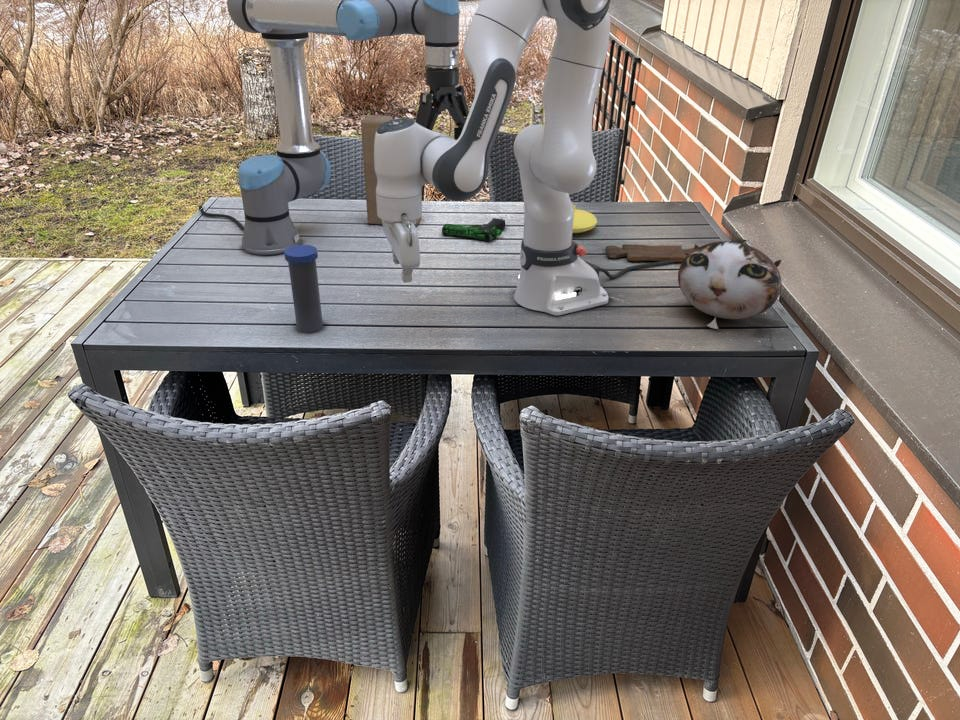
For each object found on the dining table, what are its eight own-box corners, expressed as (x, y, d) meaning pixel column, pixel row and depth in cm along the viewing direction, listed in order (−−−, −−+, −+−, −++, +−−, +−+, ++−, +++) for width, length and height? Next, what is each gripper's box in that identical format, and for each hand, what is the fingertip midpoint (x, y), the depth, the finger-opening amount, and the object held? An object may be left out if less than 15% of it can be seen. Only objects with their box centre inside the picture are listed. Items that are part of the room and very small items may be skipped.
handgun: (511, 219, 210) (493, 234, 198) (511, 228, 211) (492, 244, 199) (461, 212, 215) (440, 226, 203) (461, 221, 217) (440, 236, 204)
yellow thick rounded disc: (559, 216, 220) (561, 193, 217) (605, 227, 212) (608, 204, 209) (532, 230, 209) (533, 207, 206) (580, 242, 201) (582, 218, 198)
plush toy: (655, 305, 156) (684, 221, 158) (671, 327, 172) (697, 250, 173) (760, 330, 146) (790, 239, 147) (766, 351, 161) (793, 268, 163)
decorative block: (416, 227, 210) (413, 122, 195) (367, 224, 212) (359, 120, 196) (422, 218, 216) (419, 116, 201) (373, 215, 218) (367, 114, 203)
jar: (298, 321, 159) (289, 247, 150) (324, 320, 159) (316, 247, 150) (295, 333, 154) (285, 258, 145) (321, 332, 154) (313, 257, 146)
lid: (287, 251, 151) (286, 244, 150) (319, 251, 151) (318, 244, 151) (282, 264, 145) (281, 257, 144) (316, 263, 146) (315, 256, 145)
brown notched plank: (705, 264, 190) (697, 250, 198) (707, 258, 189) (698, 245, 198) (608, 261, 190) (604, 247, 199) (609, 255, 189) (605, 241, 198)
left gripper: (421, 75, 148) (424, 176, 159) (486, 61, 166) (485, 153, 177) (393, 71, 151) (397, 171, 162) (460, 58, 169) (460, 148, 180)
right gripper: (427, 222, 132) (428, 290, 139) (405, 189, 149) (407, 252, 156) (393, 225, 130) (396, 294, 137) (374, 192, 147) (378, 254, 154)
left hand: (443, 161), depth 169 cm, fingers open, 13 cm apart
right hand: (402, 271), depth 147 cm, fingers open, 8 cm apart
